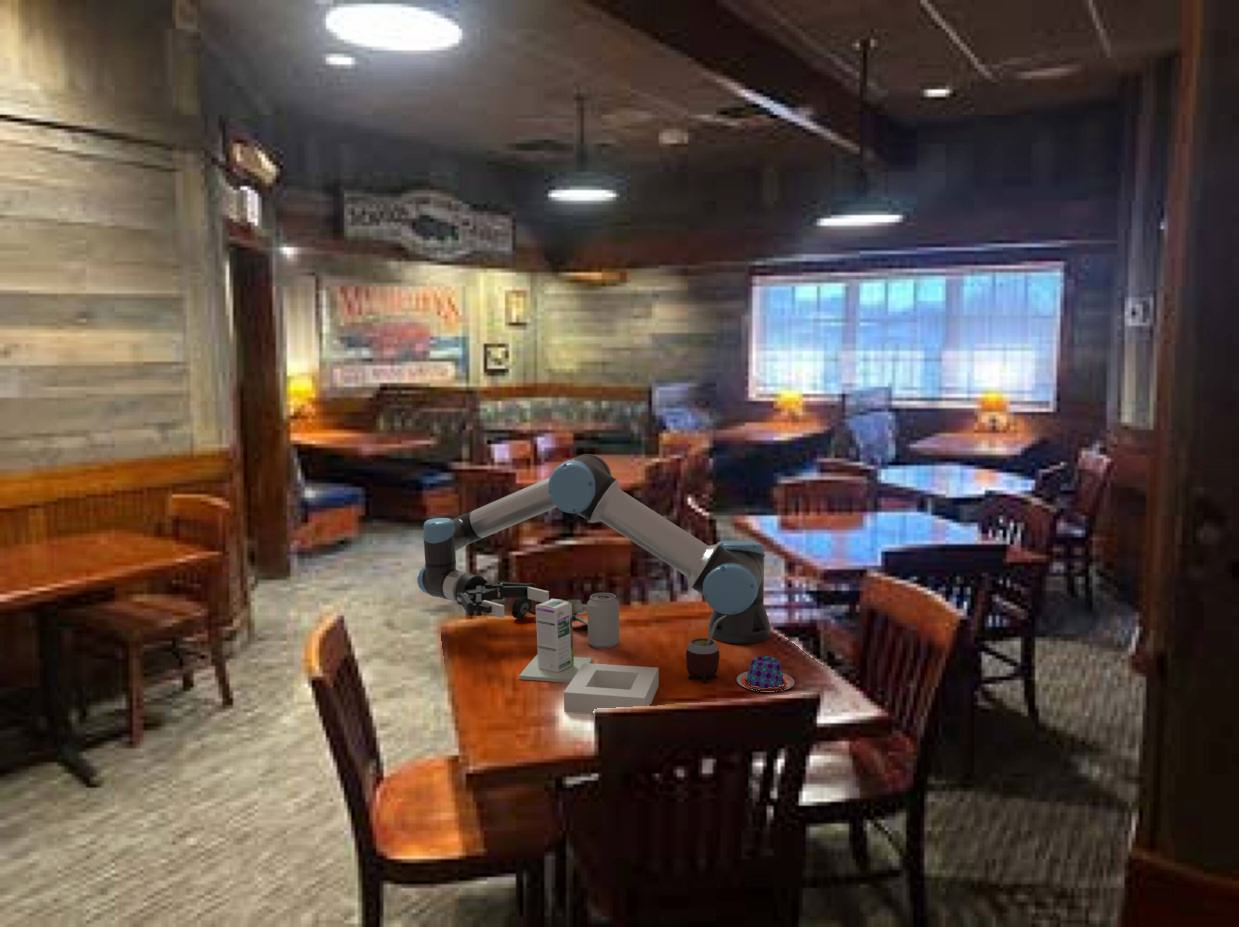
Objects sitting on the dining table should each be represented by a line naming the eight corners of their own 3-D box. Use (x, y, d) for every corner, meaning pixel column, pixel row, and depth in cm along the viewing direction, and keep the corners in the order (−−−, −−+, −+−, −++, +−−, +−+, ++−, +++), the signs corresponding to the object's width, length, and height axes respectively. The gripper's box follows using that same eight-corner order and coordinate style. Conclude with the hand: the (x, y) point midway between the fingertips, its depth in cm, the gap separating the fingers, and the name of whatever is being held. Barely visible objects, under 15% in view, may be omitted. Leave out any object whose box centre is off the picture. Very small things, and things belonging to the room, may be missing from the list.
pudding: (803, 680, 190) (804, 657, 189) (779, 699, 180) (779, 674, 179) (752, 669, 197) (752, 646, 196) (726, 686, 187) (726, 662, 186)
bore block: (658, 686, 187) (658, 667, 187) (644, 717, 172) (644, 697, 171) (584, 680, 190) (583, 662, 190) (564, 711, 175) (563, 692, 174)
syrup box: (558, 673, 193) (556, 608, 190) (536, 668, 196) (535, 603, 194) (574, 665, 197) (572, 601, 195) (553, 660, 201) (551, 597, 198)
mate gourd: (683, 672, 194) (683, 605, 192) (719, 671, 195) (719, 604, 193) (689, 685, 187) (689, 616, 185) (726, 684, 188) (727, 615, 186)
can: (620, 639, 216) (620, 591, 214) (617, 650, 209) (617, 600, 207) (590, 638, 217) (589, 590, 215) (585, 649, 210) (585, 599, 208)
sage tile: (592, 661, 202) (592, 657, 202) (577, 683, 189) (577, 679, 189) (536, 657, 204) (536, 654, 204) (518, 679, 192) (518, 675, 192)
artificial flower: (529, 618, 238) (538, 581, 238) (596, 643, 225) (606, 605, 225) (507, 618, 231) (517, 580, 231) (576, 644, 218) (585, 604, 218)
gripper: (506, 592, 226) (565, 607, 211) (424, 616, 207) (483, 634, 193) (505, 563, 224) (564, 576, 210) (422, 584, 206) (482, 601, 192)
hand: (526, 604), depth 202 cm, fingers open, 13 cm apart
